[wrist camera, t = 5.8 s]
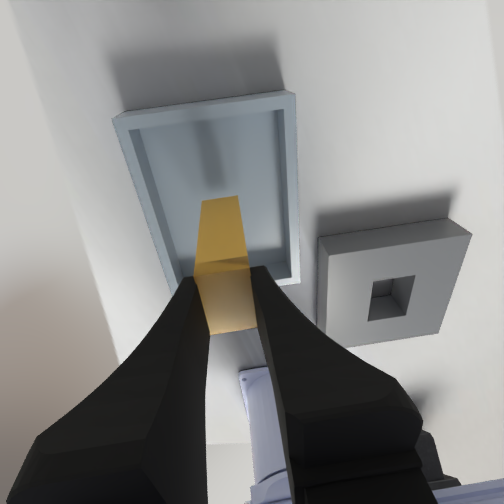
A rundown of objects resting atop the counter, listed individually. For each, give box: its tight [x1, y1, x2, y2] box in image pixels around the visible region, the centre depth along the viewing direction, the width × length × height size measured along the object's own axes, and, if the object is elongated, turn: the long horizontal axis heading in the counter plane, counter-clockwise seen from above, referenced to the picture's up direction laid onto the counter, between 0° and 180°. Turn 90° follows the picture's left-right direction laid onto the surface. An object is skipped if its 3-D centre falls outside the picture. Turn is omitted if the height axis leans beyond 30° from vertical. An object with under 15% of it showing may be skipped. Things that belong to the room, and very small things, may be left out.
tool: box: [415, 430, 462, 491], centre depth 40 cm, size 6×19×15 cm
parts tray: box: [112, 90, 300, 296], centre depth 19 cm, size 12×9×2 cm
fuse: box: [193, 195, 258, 335], centre depth 14 cm, size 3×2×7 cm, turn 7°
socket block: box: [317, 218, 472, 348], centre depth 24 cm, size 10×10×2 cm
